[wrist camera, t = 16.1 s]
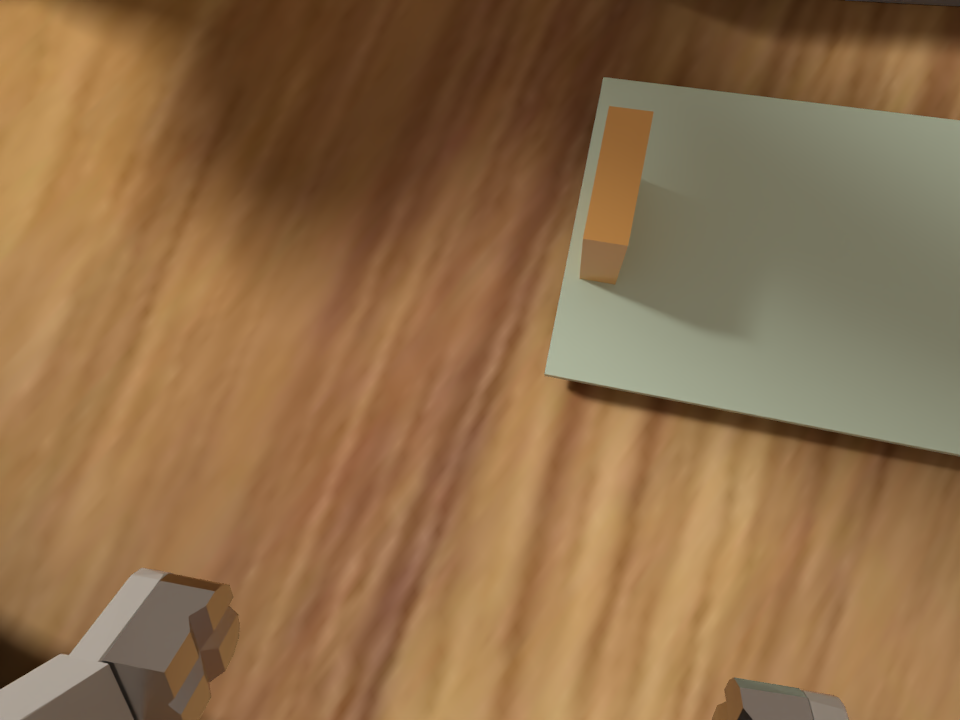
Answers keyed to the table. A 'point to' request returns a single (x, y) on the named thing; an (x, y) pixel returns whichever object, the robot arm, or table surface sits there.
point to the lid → (769, 262)
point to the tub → (919, 2)
